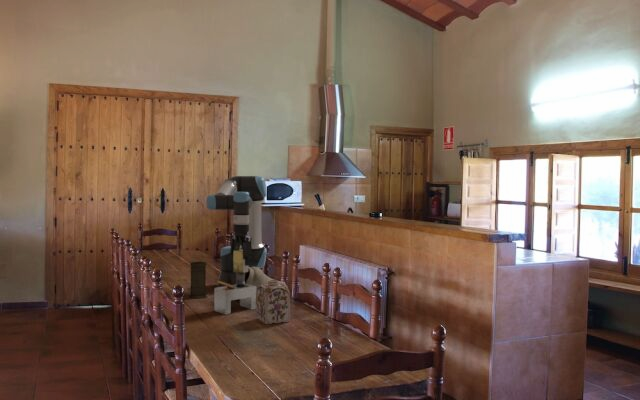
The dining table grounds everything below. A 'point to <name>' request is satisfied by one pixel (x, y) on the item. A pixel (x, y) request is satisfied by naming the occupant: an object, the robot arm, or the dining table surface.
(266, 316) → the decorative jar
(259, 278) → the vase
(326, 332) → the dining table surface
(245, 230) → the robot arm
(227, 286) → the keeper flap
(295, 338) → the dining table surface
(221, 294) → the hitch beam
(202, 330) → the dining table surface
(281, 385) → the dining table surface
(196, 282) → the container
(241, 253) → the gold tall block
